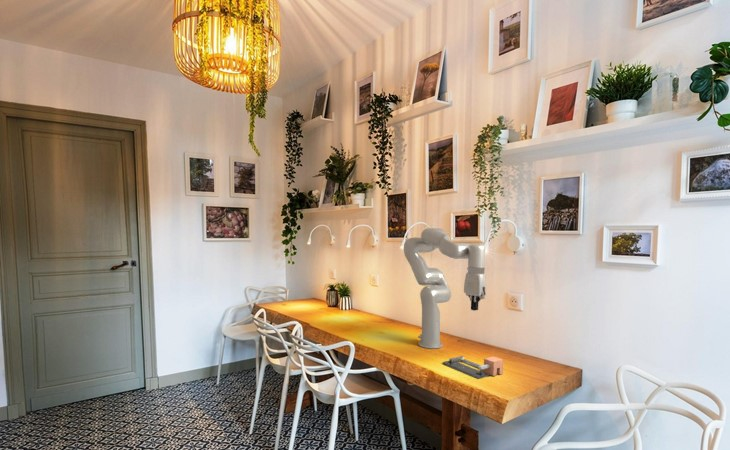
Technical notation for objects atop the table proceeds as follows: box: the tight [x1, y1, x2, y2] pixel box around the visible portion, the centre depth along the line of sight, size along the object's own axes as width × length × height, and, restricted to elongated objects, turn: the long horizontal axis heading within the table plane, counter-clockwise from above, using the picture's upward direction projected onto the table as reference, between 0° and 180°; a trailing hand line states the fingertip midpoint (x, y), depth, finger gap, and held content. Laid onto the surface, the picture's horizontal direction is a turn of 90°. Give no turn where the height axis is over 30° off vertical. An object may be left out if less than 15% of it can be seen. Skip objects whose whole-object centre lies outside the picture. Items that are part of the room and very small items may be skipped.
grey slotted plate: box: [448, 355, 484, 371], centre depth 167 cm, size 21×9×2 cm, turn 32°
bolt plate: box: [442, 360, 489, 380], centre depth 165 cm, size 21×6×1 cm, turn 32°
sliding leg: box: [478, 356, 504, 377], centre depth 160 cm, size 5×12×6 cm, turn 122°
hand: (474, 309), depth 178 cm, fingers closed
